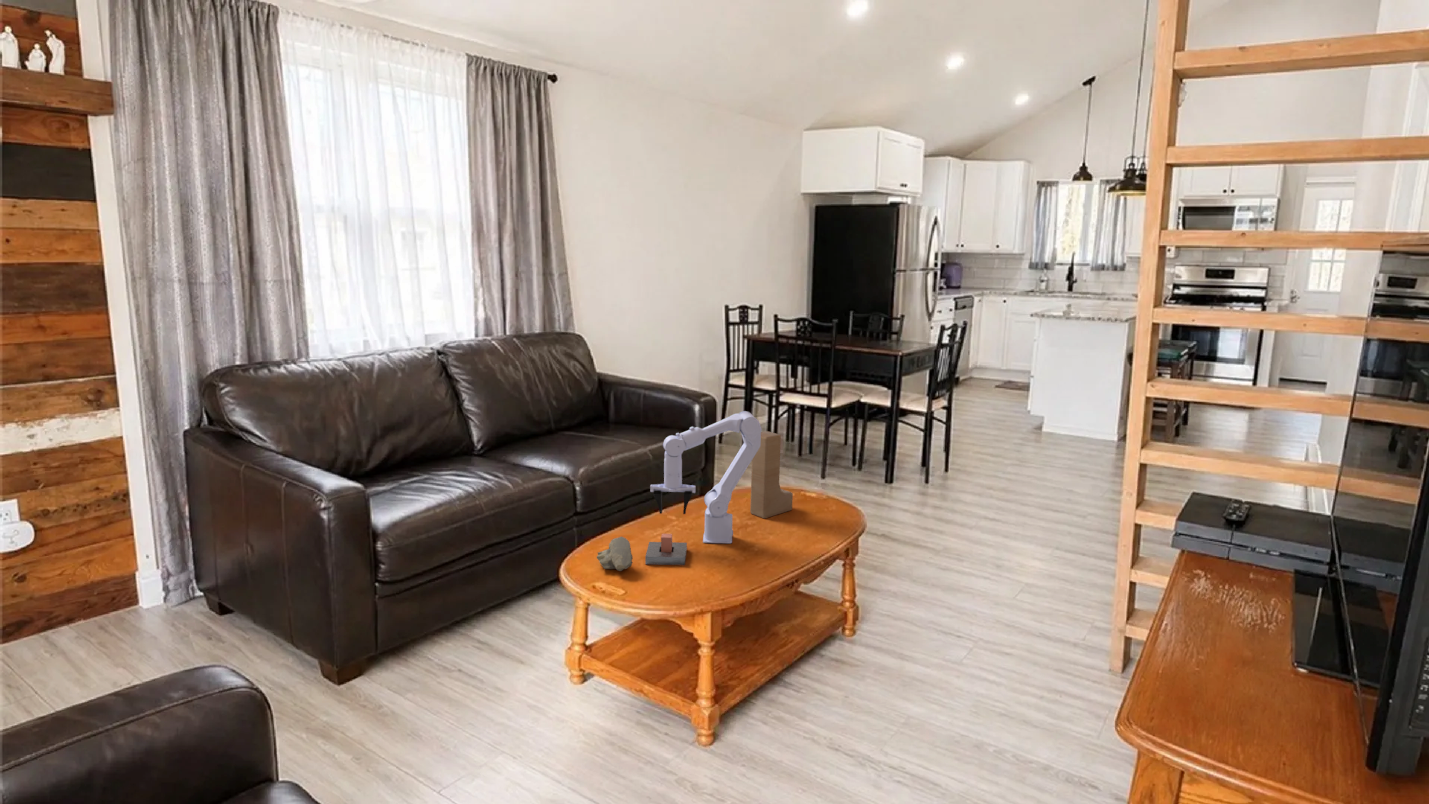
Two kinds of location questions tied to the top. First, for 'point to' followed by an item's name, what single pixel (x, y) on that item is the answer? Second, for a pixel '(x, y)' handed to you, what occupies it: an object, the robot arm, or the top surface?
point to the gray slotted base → (666, 554)
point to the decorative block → (768, 479)
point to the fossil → (616, 555)
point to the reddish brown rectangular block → (666, 543)
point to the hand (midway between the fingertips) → (672, 512)
